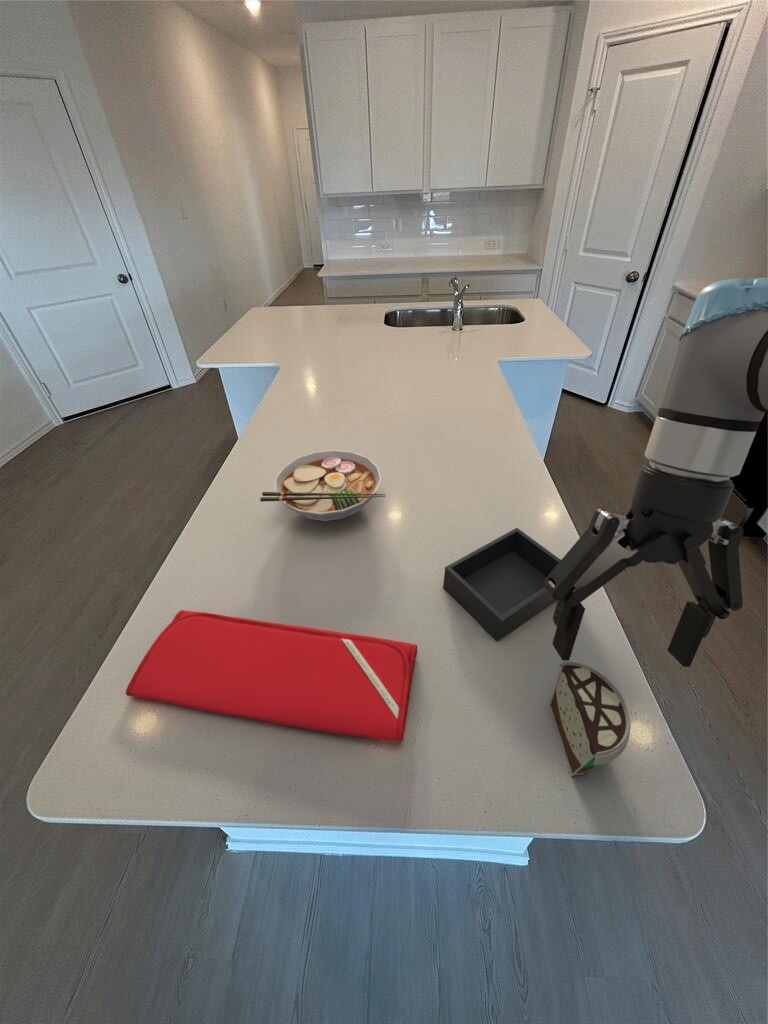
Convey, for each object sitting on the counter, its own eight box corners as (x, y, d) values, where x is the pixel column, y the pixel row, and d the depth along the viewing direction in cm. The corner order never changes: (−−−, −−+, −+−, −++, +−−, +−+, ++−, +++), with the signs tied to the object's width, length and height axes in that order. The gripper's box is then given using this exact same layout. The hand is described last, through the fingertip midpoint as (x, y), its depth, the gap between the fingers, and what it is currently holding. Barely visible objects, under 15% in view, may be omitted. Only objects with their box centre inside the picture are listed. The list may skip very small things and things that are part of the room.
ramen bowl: (388, 475, 107) (387, 446, 101) (385, 540, 89) (384, 510, 84) (286, 475, 108) (280, 446, 102) (264, 540, 90) (255, 510, 85)
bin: (568, 592, 78) (577, 571, 74) (496, 641, 71) (502, 621, 67) (512, 548, 87) (516, 527, 83) (442, 588, 79) (444, 566, 76)
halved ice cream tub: (625, 788, 54) (655, 756, 48) (575, 790, 54) (599, 758, 48) (588, 693, 64) (609, 655, 57) (545, 694, 64) (562, 657, 57)
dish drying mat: (184, 613, 77) (177, 599, 74) (417, 648, 70) (418, 635, 68) (128, 699, 65) (118, 687, 62) (402, 752, 58) (402, 740, 56)
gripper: (776, 469, 45) (701, 639, 53) (541, 448, 43) (499, 628, 51) (852, 493, 38) (753, 685, 46) (576, 469, 36) (521, 674, 44)
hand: (619, 655), depth 48 cm, fingers open, 13 cm apart
